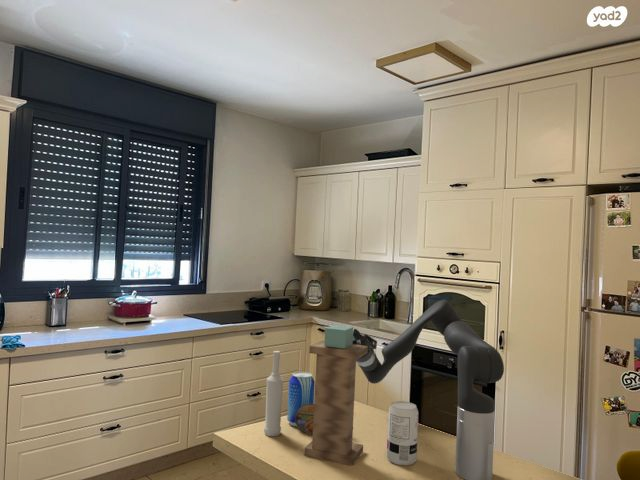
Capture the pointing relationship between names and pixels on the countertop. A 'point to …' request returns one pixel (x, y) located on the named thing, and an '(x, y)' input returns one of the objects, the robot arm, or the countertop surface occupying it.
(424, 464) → the countertop surface
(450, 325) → the robot arm
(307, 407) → the tin
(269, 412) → the bottle
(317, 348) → the stand
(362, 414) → the countertop surface
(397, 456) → the supplement can
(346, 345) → the mallet
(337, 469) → the countertop surface
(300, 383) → the beer can
